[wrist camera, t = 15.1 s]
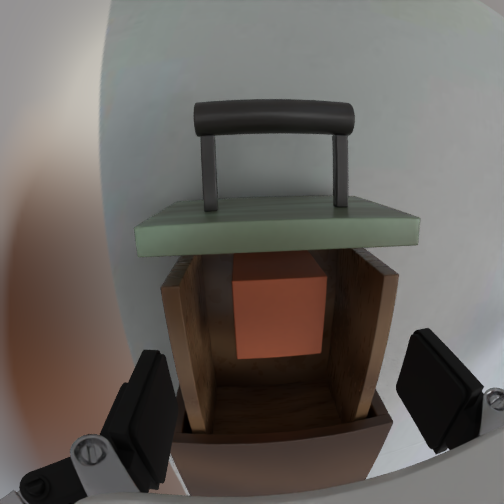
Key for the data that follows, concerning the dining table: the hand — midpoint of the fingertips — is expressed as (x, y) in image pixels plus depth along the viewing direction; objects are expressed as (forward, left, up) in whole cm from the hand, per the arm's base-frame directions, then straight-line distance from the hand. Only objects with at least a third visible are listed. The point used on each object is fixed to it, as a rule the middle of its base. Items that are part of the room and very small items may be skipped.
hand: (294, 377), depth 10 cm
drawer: (-1, 0, -10) cm, 10 cm away
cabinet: (+13, +4, -11) cm, 18 cm away
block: (0, 0, -9) cm, 9 cm away
